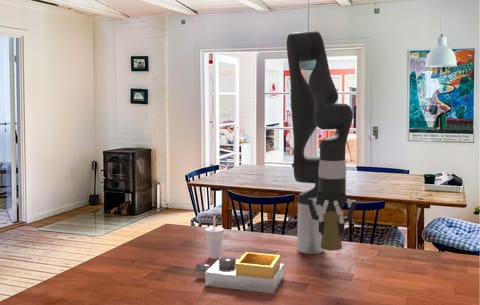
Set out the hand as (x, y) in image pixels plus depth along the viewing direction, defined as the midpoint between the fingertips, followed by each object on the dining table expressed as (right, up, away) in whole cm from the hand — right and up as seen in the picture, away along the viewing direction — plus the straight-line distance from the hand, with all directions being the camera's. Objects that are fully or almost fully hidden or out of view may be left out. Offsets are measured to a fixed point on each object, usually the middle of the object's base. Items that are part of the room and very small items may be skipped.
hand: (331, 234), depth 138 cm
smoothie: (-35, -12, +26) cm, 45 cm away
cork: (0, -4, 0) cm, 4 cm away
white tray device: (-27, -14, +5) cm, 31 cm away
